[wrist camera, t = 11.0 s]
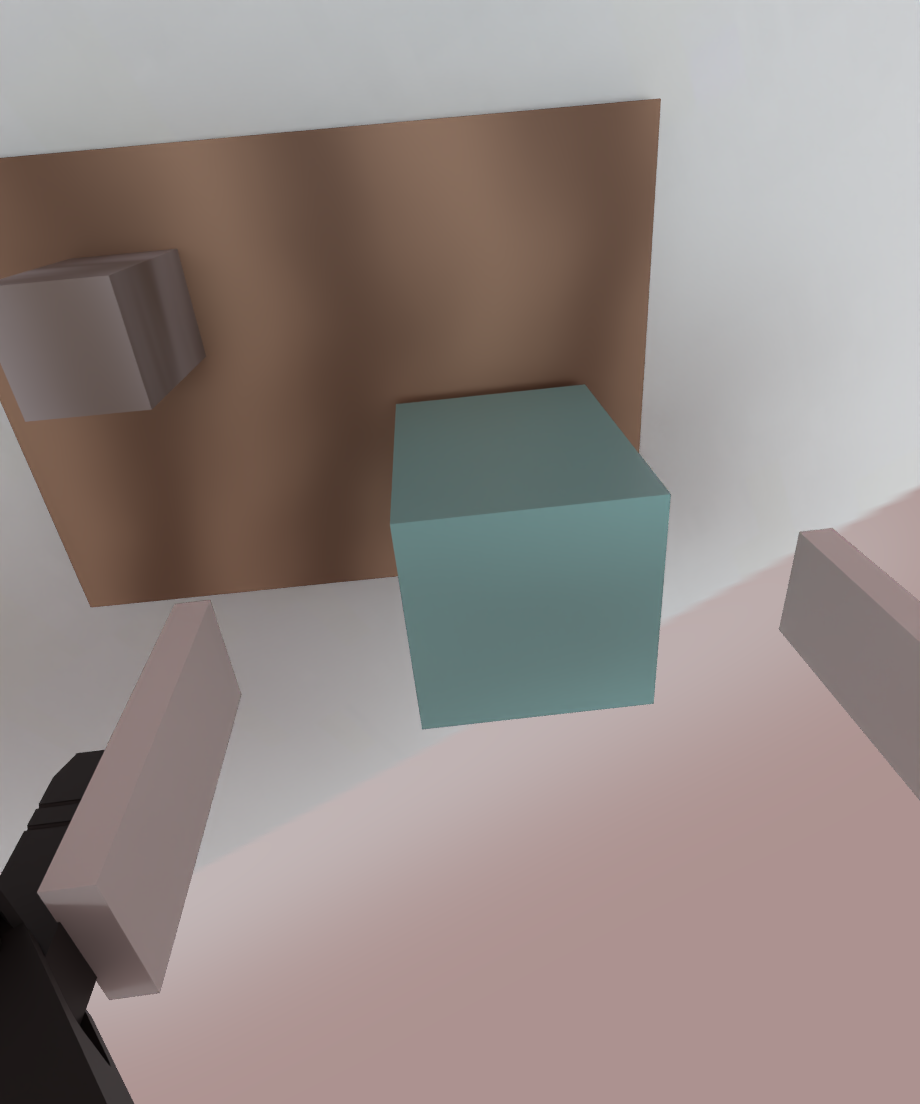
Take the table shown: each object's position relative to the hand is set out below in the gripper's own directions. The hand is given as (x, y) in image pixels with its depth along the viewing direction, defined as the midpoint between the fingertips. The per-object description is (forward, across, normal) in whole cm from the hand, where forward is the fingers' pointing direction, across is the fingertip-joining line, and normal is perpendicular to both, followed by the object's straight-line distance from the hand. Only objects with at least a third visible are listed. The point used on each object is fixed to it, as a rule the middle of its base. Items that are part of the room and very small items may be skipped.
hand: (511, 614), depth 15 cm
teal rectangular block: (+8, +1, 0) cm, 8 cm away
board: (+10, -4, +3) cm, 11 cm away
